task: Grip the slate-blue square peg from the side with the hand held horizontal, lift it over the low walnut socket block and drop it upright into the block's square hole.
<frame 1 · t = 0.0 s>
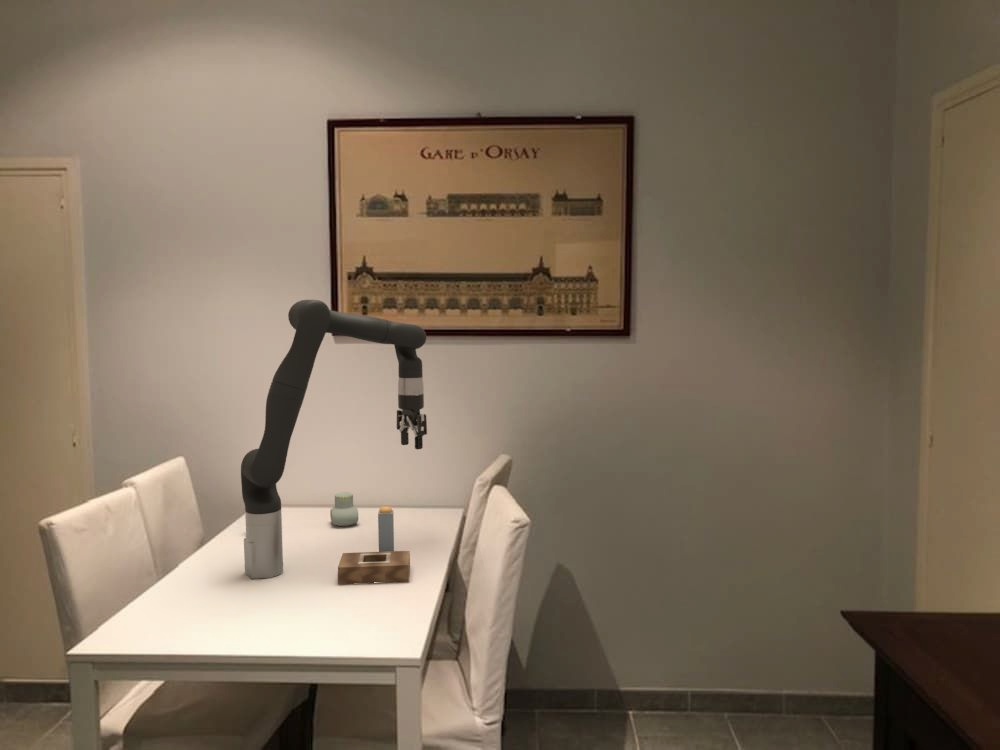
hand: (411, 446, 237), 29 cm above the table, tool pointing down, fingers open, 8 cm apart
socket block: (375, 575, 212), on the table
peg: (386, 560, 223), on the table
air freshener: (344, 524, 261), on the table
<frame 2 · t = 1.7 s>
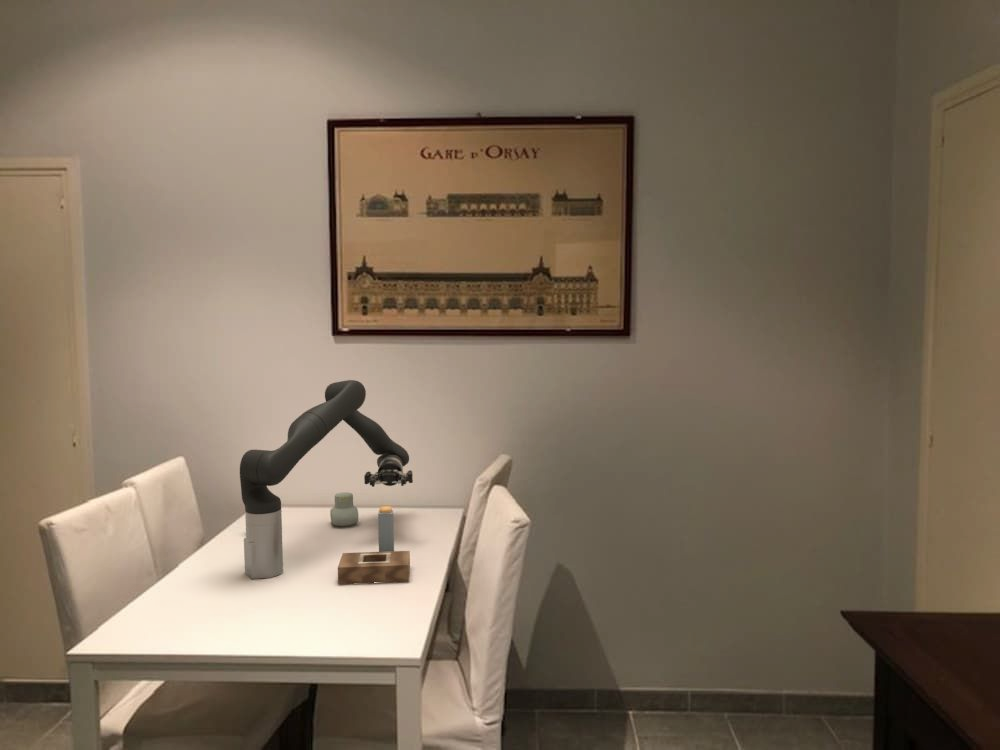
hand: (387, 482, 233), 20 cm above the table, tool horizontal, fingers open, 8 cm apart
nothing on the table moved.
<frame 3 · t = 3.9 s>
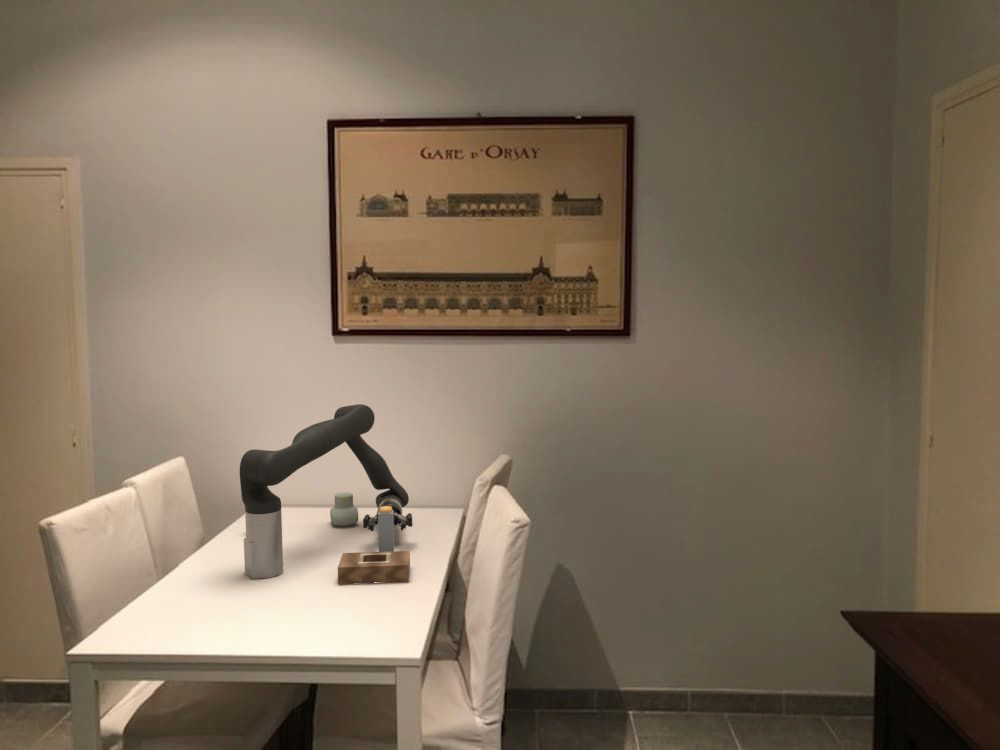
hand: (386, 527, 228), 8 cm above the table, tool horizontal, fingers open, 8 cm apart
nothing on the table moved.
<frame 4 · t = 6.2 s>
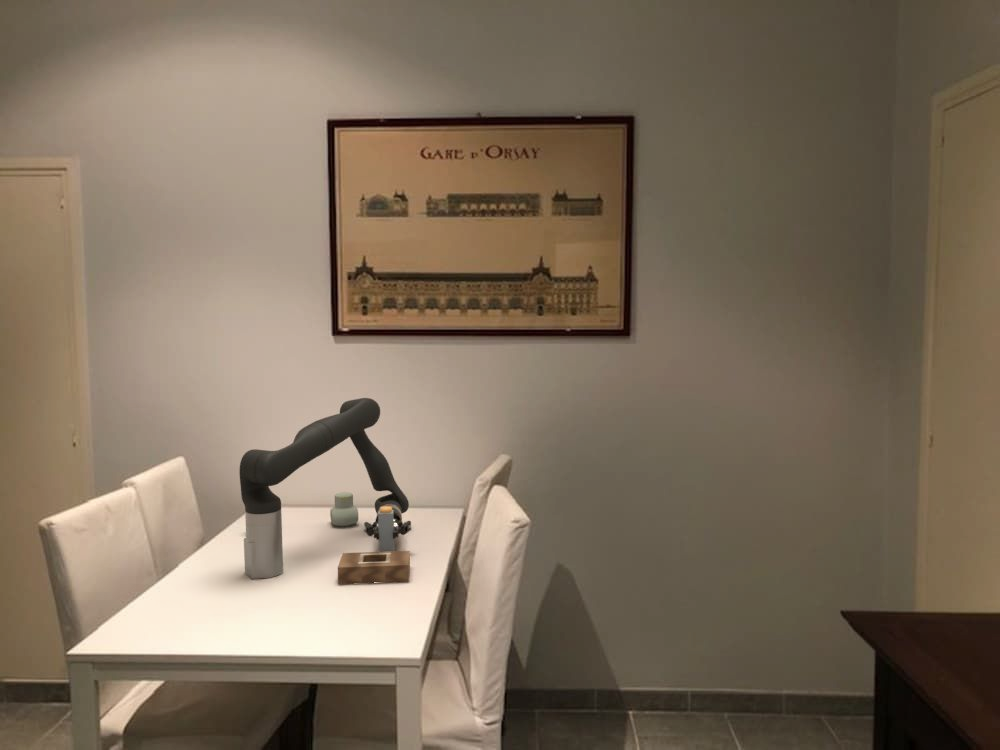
hand: (385, 535, 220), 8 cm above the table, tool horizontal, fingers closed on peg, 4 cm apart
peg: (386, 560, 223), on the table, touching gripper
everything else where it was.
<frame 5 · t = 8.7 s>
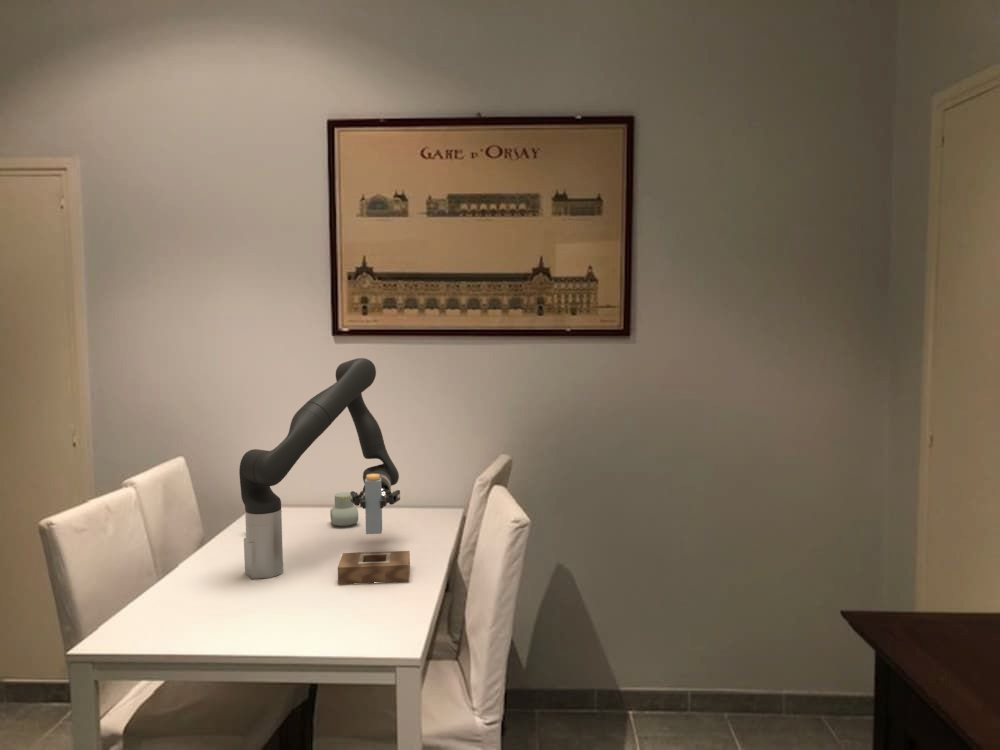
hand: (372, 504, 207), 20 cm above the table, tool horizontal, fingers closed on peg, 4 cm apart
peg: (374, 531, 211), point 12 cm above the table, touching gripper
everything else where it was.
when the fingers open (9 cm above the table, at t = 11.5 s): peg drops 1 cm, resting in socket block.
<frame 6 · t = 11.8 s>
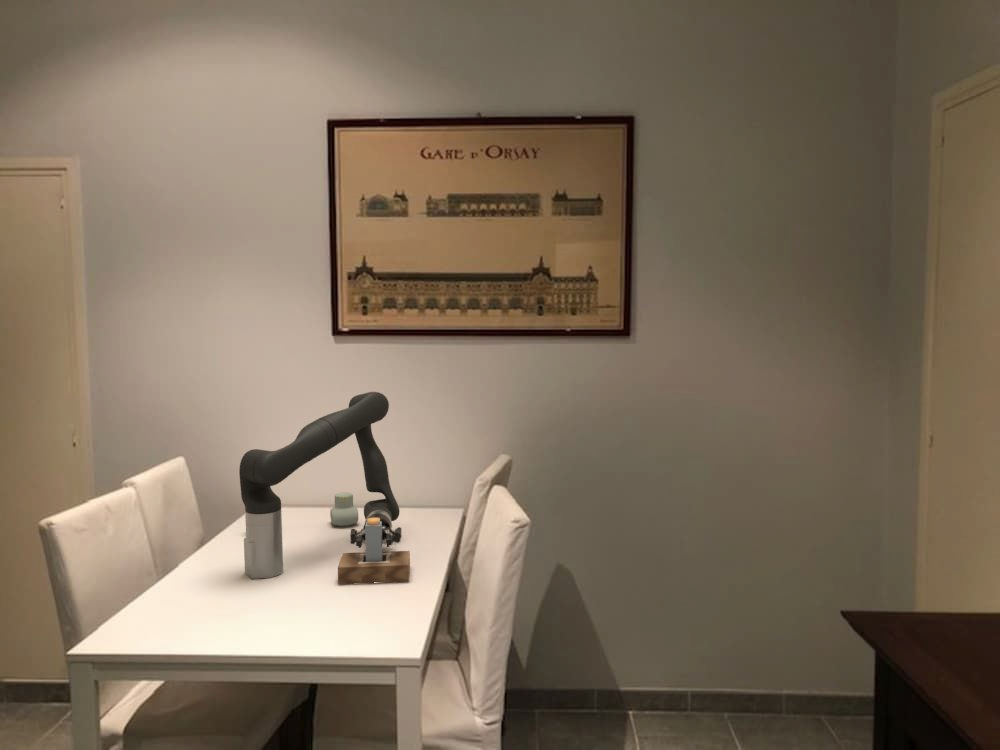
hand: (373, 543, 208), 9 cm above the table, tool horizontal, fingers open, 6 cm apart
peg: (374, 575, 212), resting in socket block
everything else where it was.
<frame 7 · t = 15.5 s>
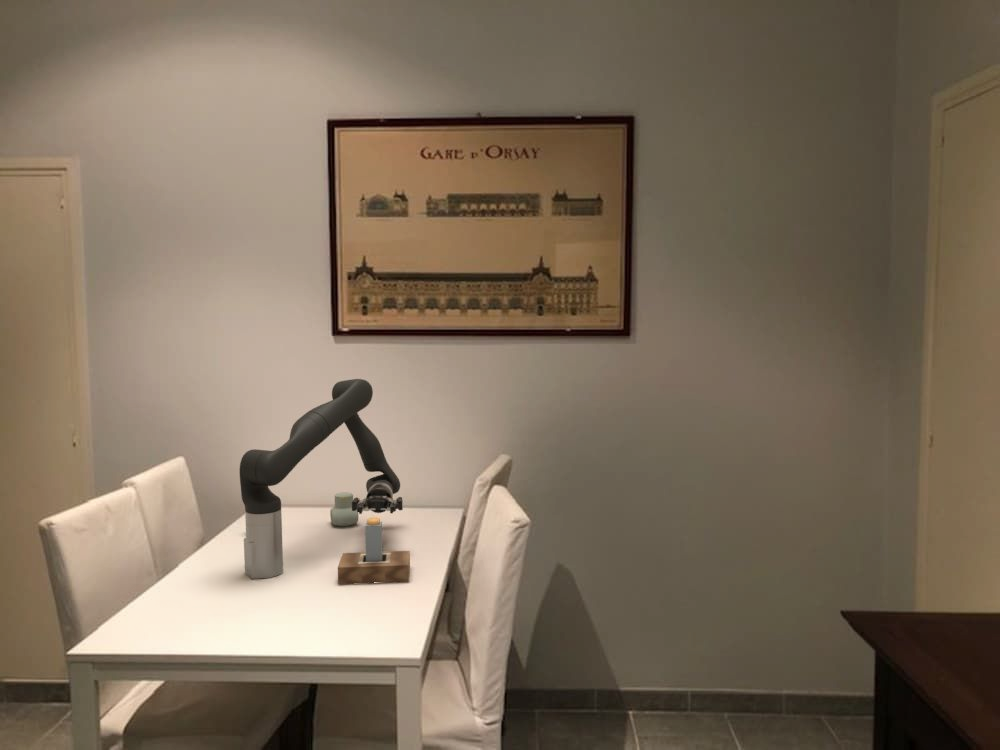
hand: (376, 510, 221), 15 cm above the table, tool horizontal, fingers open, 8 cm apart
nothing on the table moved.
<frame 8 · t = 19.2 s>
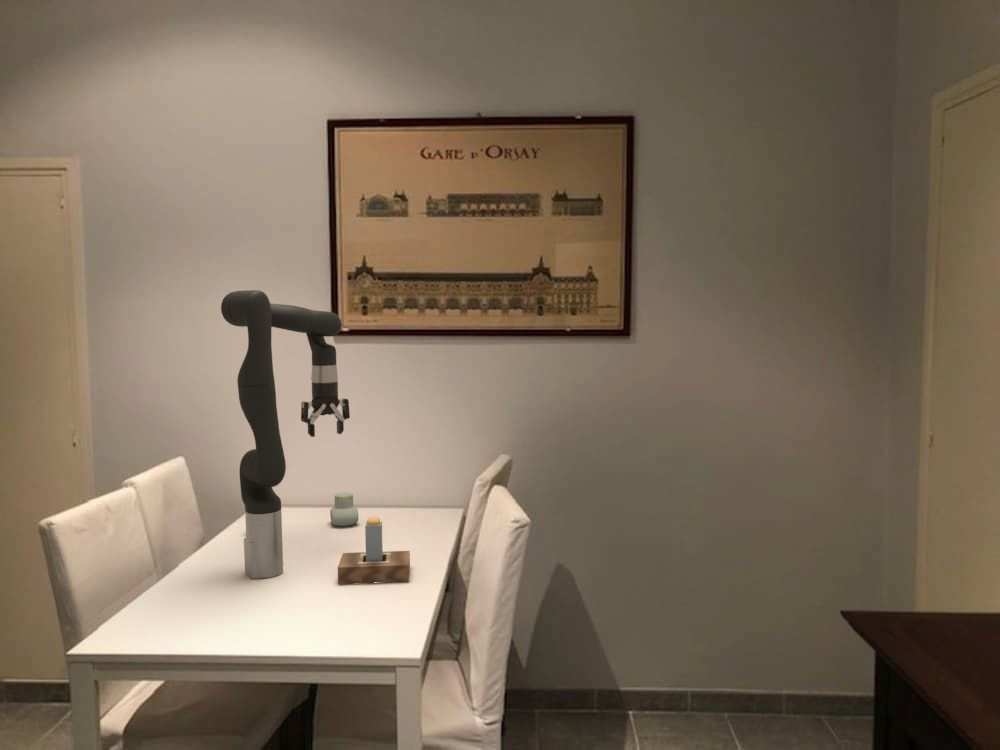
hand: (326, 435, 236), 33 cm above the table, tool pointing down, fingers open, 8 cm apart
nothing on the table moved.
at the end: peg 0.1 cm off-centre on the socket block, point 0.0 cm above the socket block's base; peg tilted 0°; the gripper is holding nothing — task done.
